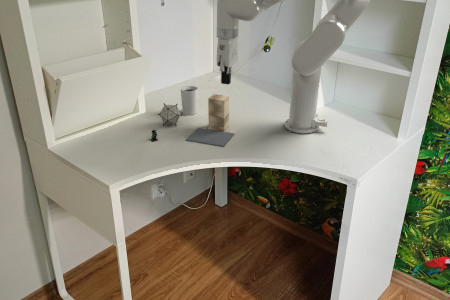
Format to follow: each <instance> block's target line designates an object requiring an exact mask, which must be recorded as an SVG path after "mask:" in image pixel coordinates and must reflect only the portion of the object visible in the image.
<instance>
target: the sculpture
mask: <svg viewBox="0 0 450 300" xmlns="http://www.w3.org/2000/svg"><path fill="white" fill-rule="evenodd" d="M157 131H158V130H157V129H152V130H151V137H150V138H149V139H148V141H149V142H151V143H155V142H158V141H159V139H158V138H157V137H158V133H157Z"/></svg>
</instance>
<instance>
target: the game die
mask: <svg viewBox="0 0 450 300" xmlns="http://www.w3.org/2000/svg"><path fill="white" fill-rule="evenodd" d="M157 116H159V117H160V118H161V119H160V120H161V121H162V122H163V124H162V126H165V124H166V125H174V126H175V127H177V126H178V125H177V123H178V121H179V119H180V118H181V116H183V113H180V111H179V108H178V103H176V104H165V102H163V107H162V109H161V111H160V112H159V113H157Z"/></svg>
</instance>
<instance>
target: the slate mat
mask: <svg viewBox="0 0 450 300" xmlns="http://www.w3.org/2000/svg"><path fill="white" fill-rule="evenodd" d="M234 136H235V132H230V131H229V132H228V131H225V132H223V131H217V130H210V129H209V128H205V127H204V128H203V127H197V128H196V129H195V130H194V131H193V132H192V133H190V134H189V136H187V138H186V139H185V141H187V142H193V143H198V144H205V145H211V146H216V147H223V148H225V146H226V145H228V143H229V141H230V140H231V139H232V138H233V137H234Z"/></svg>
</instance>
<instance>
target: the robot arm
mask: <svg viewBox="0 0 450 300" xmlns="http://www.w3.org/2000/svg"><path fill="white" fill-rule="evenodd" d="M284 1H285V0H216V3H217V4H216V38H217V48H216V49H217V50H216V66H217V67H219V72H220V74H221V75H220V83H221V84H222V85H230V84H231V83H232V82H231V80H232V69H233V66H234V65H235V64H236V63H237V62H238V60H239V59H238V53H239V51H238V50H239V49H238V38H239V24H240V22H239V21H244V22H253V21H255V20H256V19H257V18H258V17H259V16H260V15H261V14H263V13H264V12H266V11H268V10H269V9H271V8H273V7H274V6H276V5H278V4H281V2H284ZM370 2H371V0H337V1H336V3H335V4H334V5H333V6H332V7H331V8H330V9H329V11H328V12H327V13H326V14H325V15H324V16H323V17H322V18H320V20H319V21H318V22H317V24H316V26H315V29H314V30H312V32H311V33H310V34H309V35H308V37H306V39H304V40H301V41H300V42H299V43H298V44H297V45H296V47H295V49H294V51H293V54H292V57H291V68H292V77H291V89H290V90H291V91H290V102H289V116H288V119H286V120H285V121H284V123H283V124H284V128H285V129H287V131H290V132H293V133H295V134H296V133H297V134H311V133H315V132H317V131H318V130H319V128H320V127H324V128H328V122H329V121H326V119H323V118H319V117H318V116H319V115H318V113H317V109H318V101H319V100H318V99H319V89H320V82H321V73H322V67H323V66H324V64H326V63H327V62H328V61H329V59H330V58H331V57H333V55H334V54H335V53H336V52H337V51H338V49H340V48H341V46H342V45H343V43H344V42H345V37H346V33H347V32H348V31H349V29H350V28H351V27H352V26H353V25H354V24H355V22H356V21H357V20H359V18H360V17H361V15H362V14H363V13H364V11H365V10H366V9H367V7H368V6H369V4H370Z"/></svg>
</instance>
